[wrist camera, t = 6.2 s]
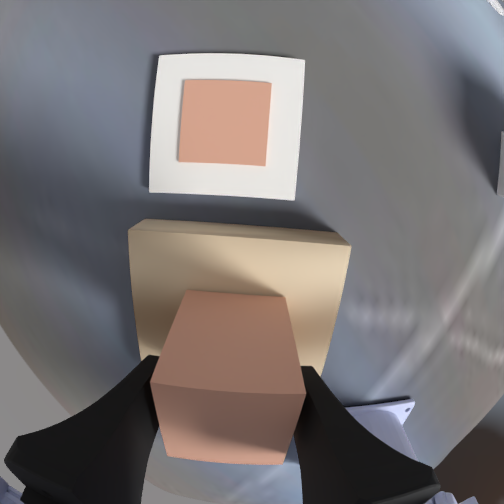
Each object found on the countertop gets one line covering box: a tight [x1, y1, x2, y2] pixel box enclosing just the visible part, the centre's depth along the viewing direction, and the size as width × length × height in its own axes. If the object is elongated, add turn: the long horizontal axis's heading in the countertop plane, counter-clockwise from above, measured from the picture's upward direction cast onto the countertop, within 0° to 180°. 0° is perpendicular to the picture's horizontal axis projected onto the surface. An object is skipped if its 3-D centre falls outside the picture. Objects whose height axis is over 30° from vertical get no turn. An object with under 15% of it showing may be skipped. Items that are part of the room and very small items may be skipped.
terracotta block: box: [150, 290, 306, 465], centre depth 11 cm, size 4×4×6 cm
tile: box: [149, 53, 305, 200], centre depth 13 cm, size 7×7×1 cm
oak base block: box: [128, 219, 351, 377], centre depth 15 cm, size 10×10×3 cm
